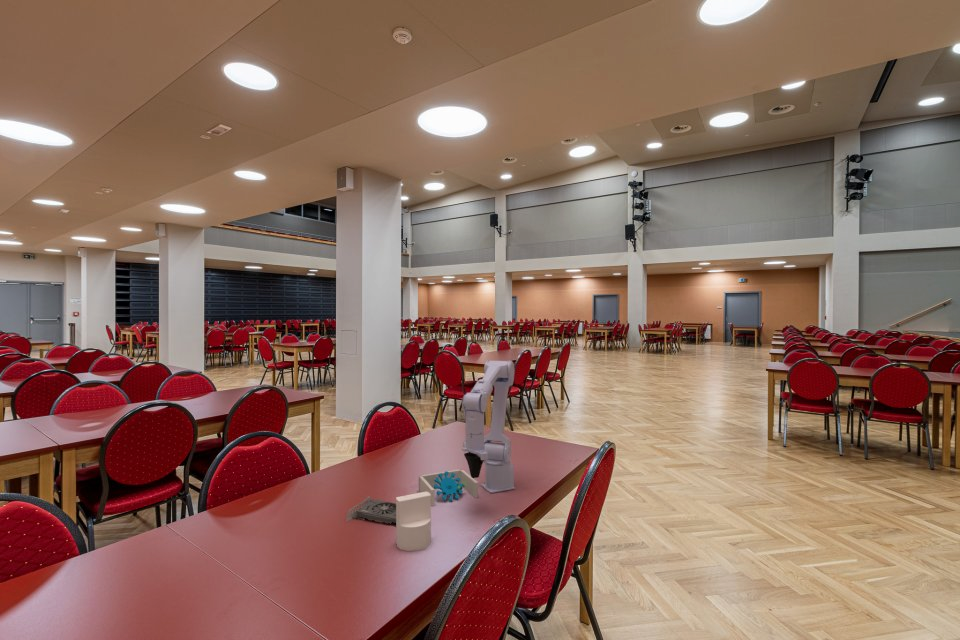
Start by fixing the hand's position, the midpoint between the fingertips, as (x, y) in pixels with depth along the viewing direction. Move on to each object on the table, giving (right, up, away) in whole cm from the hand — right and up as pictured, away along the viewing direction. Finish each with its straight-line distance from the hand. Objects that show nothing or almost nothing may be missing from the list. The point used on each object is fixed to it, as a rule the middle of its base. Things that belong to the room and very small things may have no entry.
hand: (475, 477), depth 132 cm
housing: (-9, -10, +12) cm, 18 cm away
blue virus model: (-8, -11, +11) cm, 17 cm away
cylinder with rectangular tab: (-16, -11, -18) cm, 26 cm away
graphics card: (-28, -11, -4) cm, 30 cm away
